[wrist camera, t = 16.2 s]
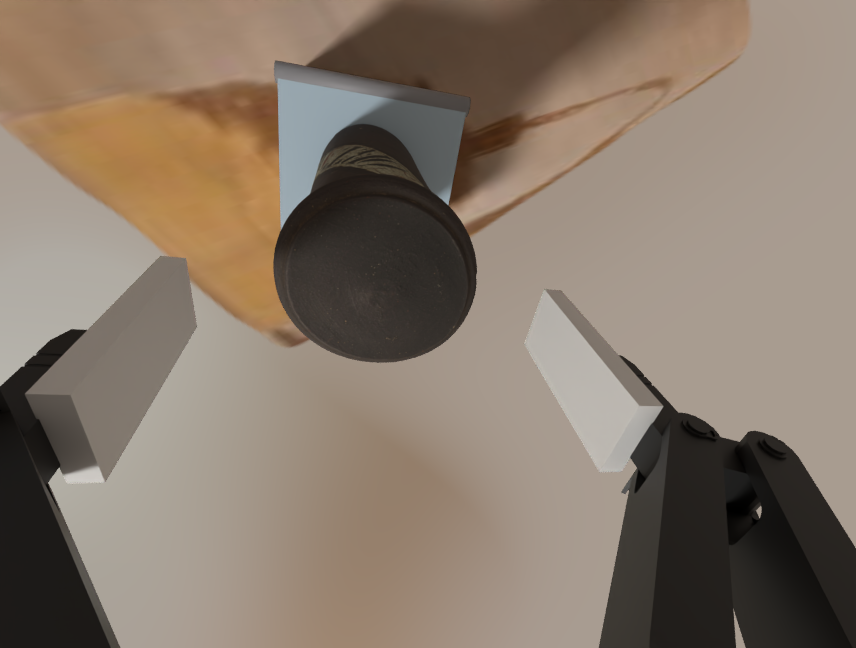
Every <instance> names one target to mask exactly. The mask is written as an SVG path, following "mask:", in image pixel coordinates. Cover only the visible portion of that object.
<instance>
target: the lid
mask: <svg viewBox="0 0 856 648" xmlns="http://www.w3.org/2000/svg"><path fill="white" fill-rule="evenodd" d="M274 76H275V82H276V83H278V117H279V165H280V212H281V229H282V227H283V225H284V223H285V221H286V220H287V218H288V217H289V215H290V214H291V212H292V211H293V210H294V209H295V207H296V206H297V205H298V204H299V203H300V202H301V201H302V200H303V199H305V198H306V197H307V196H308V195H309V194H310V192H311V189H312V185H313V182H314V179H315V176H316V173H317V169H318V165H319V162H320V159H321V157H322V154H323V152H324V150H325V148H326V146H327V145H328V143H329V142H330V141H331V139H332V138H333V137H334V136H335V134H336V133H338V132H340V131H341V130H343V129H344V128H346V127H349V126H352V125H356V124H369V125H374V126H378V127H380V128H383V129H385V130H387V131H388V132H390V133H391V134H393V135H394V136H396V137H397V138H398V139H399V140H400V141H401V142H402V143H403V145H404V146H405V147H406V148H407V150H408V151H409V153H410V154H411V156H412V158H413V160H414V162H415V164H416V166H417V168H418V170H419V171H420V173H421V175H422V177H423V179H424V181H425V182H426V184H427V186H428V187H429V189H430V190H431V192H433V193H434V194H436V195H437V196H438V197H439V198H441V199H442V200H443V201H444V202H445V203H446V204H447V205H449V199H450V194H451V189H452V184H453V178H454V173H455V168H456V163H457V157H458V152H459V147H460V142H461V136H462V131H463V126H464V121H465V117H467V115H468V113H469V109H470V101H471V100H470V97H466V96H460V95H455V94H450V93H445V92H439V91H434V90H429V89H424V88H418V87H413V86H408V85H403V84H397V83H392V82H387V81H381V80H376V79H371V78H366V77H360V76H355V75H350V74H345V73H339V72H334V71H329V70H324V69H318V68H313V67H308V66H303V65H297V64H292V63H287V62H282V61H276V60H275V65H274Z"/></svg>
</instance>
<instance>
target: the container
mask: <svg viewBox="0 0 856 648" xmlns="http://www.w3.org/2000/svg"><path fill="white" fill-rule="evenodd" d="M273 263H274V278H275V284H276V289H277V293H278V296H279V299H280V301H281V303H282V306H283V308H284V309H285V311H286V313H287V315H288V316H289V318H290V319H291V320H292V322H293V323H294V324H295V326H296V327H297V328H298V329H299V330H300V331H301V332H302V333H303V334H304V335H305V336H307V337H308V338H309V339H310V340H312V341H313V342H314V343H316V344H318V345H319V346H321V347H322V348H324V349H326V350H328V351H330V352H332V353H335V354H337V355H340V356H343V357H346V358H350V359H354V360H359V361H366V362H377V363H379V362H397V361H402V360H407V359H411V358H415V357H418V356H421V355H423V354H425V353H428V352H430V351H432V350H433V349H435V348H437V347H438V346H440V345H441V344H443V343H444V342H445V341H446V340H448V339H449V338H450V337H451V336H452V335H453V334H454V333H455V332H456V330H457V329H458V328H459V327H460V325H461V324H462V323H463V321H464V319H465V318H466V316H467V314H468V312H469V310H470V308H471V305H472V302H473V299H474V296H475V291H476V274H477V265H476V257H475V252H474V249H473V245H472V242H471V239H470V237H469V235H468V233H467V231H466V229H465V227H464V225H463V224H462V222H461V220H460V219H459V218H458V216H457V215H456V214H455V212H454V211H453V210H452V209H451V208H450V207H449V206H448V205H447V204H446V203H445V202H444V201H443V200H442V199H441V198H439V197H438V196H437V195H436V194H434V193H433V192H431V190H430V189H429V187H428V186H427V184H426V182H425V181H424V179H423V177H422V175H421V173H420V171H419V170H418V168H417V166H416V164H415V162H414V160H413V158H412V156H411V154H410V153H409V151H408V150H407V148H406V147H405V146H404V145H403V143H402V142H401V141H400V140H399V139H398V138H397V137H396V136H394V135H393V134H391V133H390V132H388V131H387V130H385V129H383V128H380V127H378V126H374V125H369V124H356V125H352V126H349V127H346V128H344V129H343V130H341V131H340V132H338V133H336V134H335V136H334V137H333V138H332V139H331V141H330V142H329V143H328V145H327V146H326V148H325V150H324V152H323V154H322V157H321V159H320V162H319V165H318V169H317V173H316V176H315V179H314V182H313V185H312V189H311V192H310V194H309V195H308V196H307V197H306V198H305V199H303V200H302V201H301V202H300V203H299V204H298V205H297V206H296V207H295V209H294V210H293V211H292V212H291V214H290V215H289V217H288V218H287V220H286V221H285V223H284V225H283V227H282V229H281V231H280V234H279V237H278V240H277V243H276V247H275V253H274V262H273Z"/></svg>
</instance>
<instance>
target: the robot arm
mask: <svg viewBox="0 0 856 648" xmlns="http://www.w3.org/2000/svg"><path fill="white" fill-rule="evenodd" d="M196 327H197V325H196V318H195V312H194V305H193V299H192V293H191V287H190V280H189V274H188V267H187V261H186V258H178V257H167V256H160V257H159V258H158V259H157V260H156V261H155V262H154V263H153V264H152V265H151V266H150V267H149V268H148V269H147V270H146V271H145V272H144V273H143V274H142V275H141V276H140V277H139V278H138V279H137V280H136V282H134V283H133V284H132V285H131V286H130V287H129V288H128V289H127V291H126V292H125V293H124V294H123V295H122V296H121V297H120V298H119V299H118V300H117V301H116V302H115V303H114V304H113V305H112V306H111V307H110V308H109V309H108V310H107V311H106V312H105V313H104V314H103V315H102V316H101V317H100V318H99V319H98V320H97V321H96V322H95V323H94V324H93V325H92V326H91V327H90V328H89V329H88V330H75V329H71V330H69V331H67V332H65V333H63V334H62V335H59V336H58V337H56V338H54V339H52V340H50V341H49V342H48V343H47V344H46V345H45V346H44V347H43V348H41V349H40V350H39V351H38V352H37V355H36V356H33V357H32V358H31V359H29V360H28V361H27V362H26V363H25V366H24V367H21V368H20V369H19V370H18V371H17V372H15V373H14V374H13V375H12V376H11V377H10V378H9V379H8V380H7V381H6V382H5V383H4V384H2V385H1V386H0V648H120V646H119V644H118V642H117V639H116V637H115V635H114V632H113V630H112V628H111V625H110V623H109V621H108V618H107V616H106V614H105V612H104V609H103V607H102V605H101V602H100V600H99V598H98V595H97V593H96V591H95V589H94V586H93V584H92V582H91V579H90V577H89V575H88V572H87V570H86V568H85V566H84V563H83V561H82V559H81V557H80V554H79V552H78V549H77V547H76V545H75V543H74V540H73V538H72V536H71V533H70V531H69V529H68V526H67V524H66V522H65V520H64V517H63V515H62V513H61V510H60V508H59V506H58V503H57V501H56V499H55V497H54V495H53V492H52V490H51V488H50V486H49V484H48V482H49V480H50V479H51V478H52V476H53V475H54V473H55V472H56V471H57V469H58V468H59V467H60V470H61V472H62V474H63V476H64V478H65V480H66V482H67V483H100V482H101V483H104V482H106V480H107V478H108V477H109V475H110V473H111V472H112V470H113V468H114V467H115V465H116V463H117V461H118V460H119V458H120V456H121V455H122V453H123V451H124V450H125V448H126V446H127V445H128V443H129V441H130V439H131V438H132V436H133V434H134V433H135V431H136V429H137V428H138V426H139V424H140V422H141V421H142V419H143V417H144V416H145V414H146V412H147V410H148V409H149V407H150V405H151V404H152V402H153V400H154V399H155V397H156V395H157V394H158V392H159V390H160V389H161V387H162V385H163V383H164V382H165V380H166V378H167V377H168V375H169V373H170V372H171V370H172V368H173V366H174V365H175V363H176V361H177V360H178V358H179V356H180V355H181V353H182V351H183V350H184V348H185V346H186V344H187V343H188V341H189V339H190V338H191V336H192V334H193V333H194V331H195V329H196ZM524 345H525V346H526V348H527V350H528V352H529V353H530V355H531V357H532V358H533V360H534V361H535V363H536V365H537V367H538V368H539V370H540V372H541V373H542V375H543V377H544V379H545V380H546V382H547V384H548V385H549V387H550V389H551V390H552V392H553V394H554V396H555V397H556V399H557V401H558V402H559V404H560V406H561V407H562V409H563V411H564V412H565V414H566V416H567V418H568V419H569V421H570V423H571V424H572V426H573V428H574V429H575V431H576V433H577V435H578V436H579V438H580V440H581V441H582V443H583V445H584V447H585V448H586V450H587V452H588V453H589V455H590V457H591V458H592V460H593V462H594V463H595V465H596V467H597V469H598V470H599V472H621V471H622V470H623V469H624V467H625V465H626V464H627V462H628V461H629V459H630V458H631V459H632V461H633V462H634V464H635V465H636V467H637V469H636V471H635V472H634V474H633V475H632V477H631V478H630V480H629V481H628V483H627V484H626V486H625V487H624V489H623V490H622V493H624V494H626V492H627V491H628V490H629V494H628V499H627V505H626V510H625V516H624V520H623V525H622V530H621V536H620V541H619V547H618V552H617V556H616V562H615V567H614V572H613V577H612V582H611V587H610V593H609V598H608V603H607V608H606V614H605V619H604V624H603V629H602V634H601V639H600V644H599V648H736V642H735V627H734V613H733V608H734V611H735V615H736V618H737V621H738V624H739V628H740V631H741V634H742V637H743V640H744V643H745V647H746V648H856V548H855V546H854V545H853V543H852V541H851V540H850V538H849V537H848V535H847V534H846V532H845V530H844V529H843V527H842V526H841V524H840V522H839V521H838V519H837V518H836V516H835V515H834V513H833V511H832V510H831V508H830V507H829V505H828V503H827V502H826V500H825V499H824V497H823V496H822V494H821V492H820V491H819V489H818V487H817V486H816V484H815V483H814V481H813V480H812V478H811V476H810V475H809V473H808V472H807V470H806V468H805V467H804V465H803V464H802V462H801V461H800V459H799V457H798V456H797V455H796V454H795V453H794V451H793V450H792V449H790V448H789V447H788V446H787V445H785V443H784V442H782V441H781V440H778V439H777V438H775V437H773V436H770V435H768V434H765V433H762V432H758V431H750V432H748V433H747V434H746V435H745V437H744V438H743V439H742V440H741V441H740V442H737V441H733V440H730V439H726V438H721V437H720V436H719V434H718V433H717V432H716V431H715V430H714V428H713V427H711V426H710V425H709V424H707V423H706V422H705V421H703V420H701V419H699V418H697V417H696V416H693V415H690V414H686V413H678V412H677V411H676V410H675V409H674V408H673V406H672V405H671V404H670V403H669V402H668V401H667V400H666V399H665V398H664V397H663V395H662V394H661V393H660V392H659V391H658V390H657V389H656V388H655V387H654V386H652V385H651V384H652V383H651V382H650V381H649V380H648V379H647V378H646V377H644V375H643V373H642V372H641V371H640V370H639V369H638V368H637V367H636V366H635V365H634V364H633V363H631V362H630V361H628V360H627V359H626V358H624V357H623V356H620V355H618V354H617V353H616V352H615V351H614V350H613V349H612V347H611V346H610V345H609V344H608V343H607V342H606V341H605V340H604V338H603V337H602V336H601V335H600V334H599V333H598V332H597V330H596V329H595V328H594V327H593V326H592V325H591V324H590V323H589V321H588V320H587V319H586V318H585V317H584V316H583V315H582V314H581V313H580V311H579V310H578V309H577V308H576V307H575V306H574V305H573V303H572V302H571V301H570V300H569V299H568V298H567V297H566V295H565V294H564V293H563V292H562V291H560V290H548V289H544V291H543V294H542V297H541V299H540V302H539V305H538V308H537V310H536V313H535V316H534V319H533V322H532V324H531V327H530V330H529V333H528V336H527V338H526V341H525V344H524ZM760 506H761V507H762V513H761V517H760V518H759V516H758V514H757V512H756V510H757V509H758V508H759V507H760Z"/></svg>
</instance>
